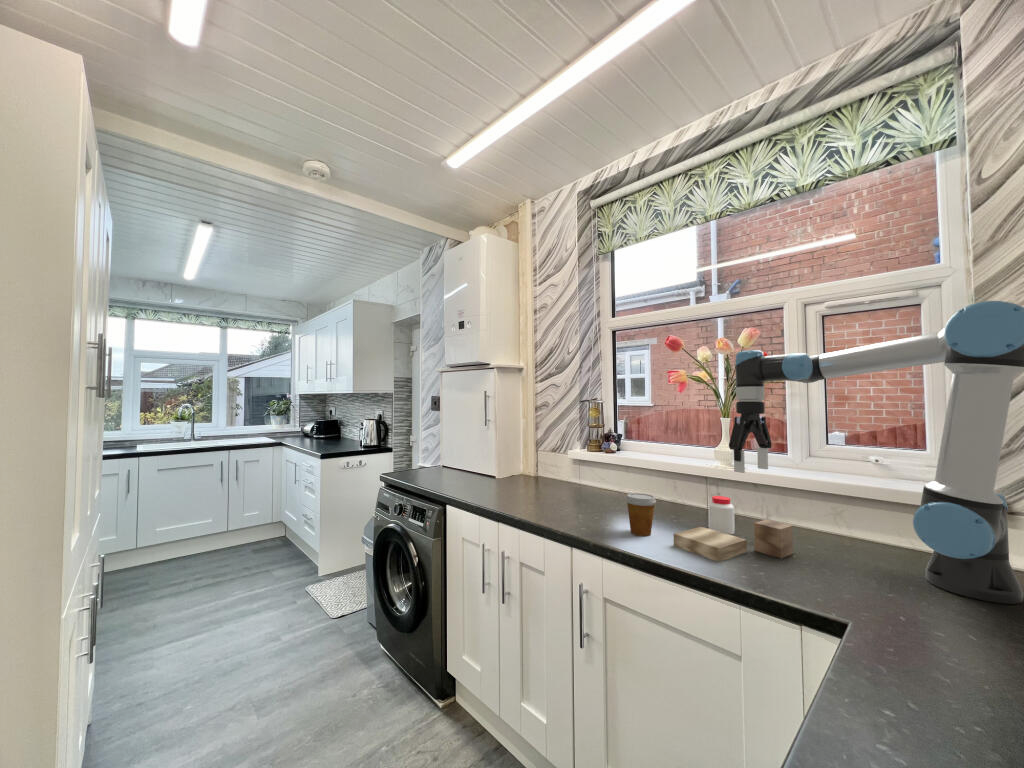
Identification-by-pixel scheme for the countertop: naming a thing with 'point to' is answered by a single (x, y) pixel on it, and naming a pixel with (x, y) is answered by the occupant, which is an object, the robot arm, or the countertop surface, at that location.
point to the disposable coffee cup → (640, 513)
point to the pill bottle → (721, 515)
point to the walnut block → (774, 538)
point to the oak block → (710, 543)
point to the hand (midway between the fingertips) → (751, 470)
